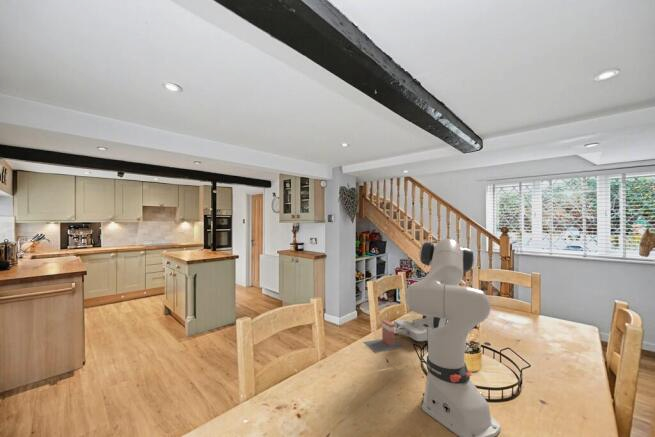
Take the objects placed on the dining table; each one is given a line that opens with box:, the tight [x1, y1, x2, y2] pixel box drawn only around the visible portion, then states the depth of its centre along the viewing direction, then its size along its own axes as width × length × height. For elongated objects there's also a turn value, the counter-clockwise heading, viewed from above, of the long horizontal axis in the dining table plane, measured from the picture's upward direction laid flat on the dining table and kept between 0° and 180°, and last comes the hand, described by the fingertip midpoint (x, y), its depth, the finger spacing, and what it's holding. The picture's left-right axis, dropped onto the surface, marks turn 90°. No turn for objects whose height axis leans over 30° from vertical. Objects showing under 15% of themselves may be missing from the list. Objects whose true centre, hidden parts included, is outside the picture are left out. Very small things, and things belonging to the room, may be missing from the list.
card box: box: [381, 319, 395, 346], centre depth 132 cm, size 7×2×10 cm, turn 20°
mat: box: [363, 338, 406, 354], centre depth 129 cm, size 12×17×1 cm
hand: (396, 331), depth 133 cm, fingers closed
